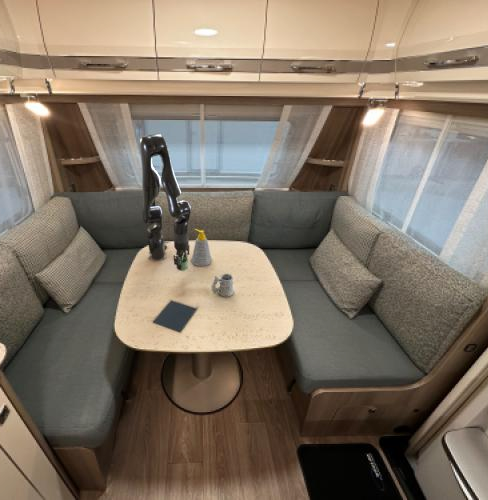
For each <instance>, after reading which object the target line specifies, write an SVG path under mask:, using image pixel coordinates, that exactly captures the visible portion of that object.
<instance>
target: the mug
mask: <svg viewBox="0 0 488 500" xmlns="http://www.w3.org/2000/svg"><path fill="white" fill-rule="evenodd" d="M218 282H219V286H218V287H217V288H216V285H218ZM211 291H212V293H213V294H214V295H216V293H219V295H220V296H221V297H224V298H228V297H231V296H232V295H233V293H234V276H233V275H232V274H231V273H223V274H221V275H220V277H218V276H217V274H216V275H214V279H213V281H212V284H211Z"/></svg>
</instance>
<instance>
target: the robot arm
mask: <svg viewBox="0 0 488 500" xmlns="http://www.w3.org/2000/svg"><path fill="white" fill-rule="evenodd" d="M139 153H140V161H141V172H142V173H141V174H142V175H141V176H142V179H141V180H142V181H141V185H142V187H141V188H142V212H141V213H142V215H141V216H142V221H143V222H144V223H145V224H146V225H149V226H148V227H147V228H146V235H147V241H148V242H147V244H148V255H149V259H150V260H151V261H154V262H160V261H162V260H164V259H165V258H166V249H167V248H168V246H167V245H165V242H167V241H171V239H170V238H167V239H164V227H163V225H164V223H163V211H162V208H161V206H159V205H155V206H152V204H153V203H154V201H155V200H156V199H157V197H158V195H159V194H160V192H161V185H162V188H163V190H164V193H165V196H166V200H167V201H166V202H167V207H168V213H169V215H170V216H171V217H172V218H174V219H176V220H174V222H173V247H174V249H175V250H176V254H174V255H173V258H172V259H173V265H175V266H176V265H177V267H176V270H178V271H180V270H181V261H182V260H183V257H186V258H187V259H188V258H189V255H190V243H189V242H190V241H189V240H190V239H189V225H188V224H189V221H190V216H191V213H192V209H191V205H190V203H189V201H187V200H181V201H178V198H179V197H180V196H181V195H182V192H181V189H180V186H179V184H178V181H177V179H176V177H175V176H176V175H175V172H174V169H173V165H172V161H171V157H170V153H169V149H168V145H167V142H166V140H165V138H164V136H163V135H162V134H161V133H153V134H148V135H144V136H142V137H140V139H139ZM157 156H159V157H160V160H161V164H162V165H161V166H162V170H161V177H160V175H159V174H158V172H157V170H155V168H154V167H153V162H152V161H153V157H157ZM150 224H151V225H150ZM179 257H180V258H181V259H180V258H179ZM179 260H180V262H179Z"/></svg>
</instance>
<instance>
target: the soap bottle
mask: <svg viewBox="0 0 488 500" xmlns="http://www.w3.org/2000/svg"><path fill="white" fill-rule="evenodd" d="M194 231H195V232H198V233H199V234H197V237H196V238H195V242H194V247H193V252H192V257H191V263H192V264H193V265H195V266H196V267H197V266H198V267H206V266H208V265H210V264H211V263H212V255H211V250H210V245H209V241H208V238H207V237H206V234H205V231H204V230H201V229H197V228H194Z"/></svg>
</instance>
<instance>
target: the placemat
mask: <svg viewBox="0 0 488 500" xmlns="http://www.w3.org/2000/svg"><path fill="white" fill-rule="evenodd" d="M162 309H163V310H162V311H161V312H160V313H159V314H158V315H157V316H156V317H155V319H153V321H152V323H154V324H156V325H158V326H159V325H160V326H162V327H165V328H168V329H171V330H173V331H176V332H179V333H181V332H182V330H183V329H184V328H185V326H186V325H187V323H189V321H190V320H191V317H192V316H193V315H194V313H195V311H196V310H197V308H196V307H193V306H190V305H186V304H185V303H182V302H181V303H180V302H177V301H176V300H175V301H174V300H170V301H169V303H168V304H166V306H165V307H164V308H162Z"/></svg>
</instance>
